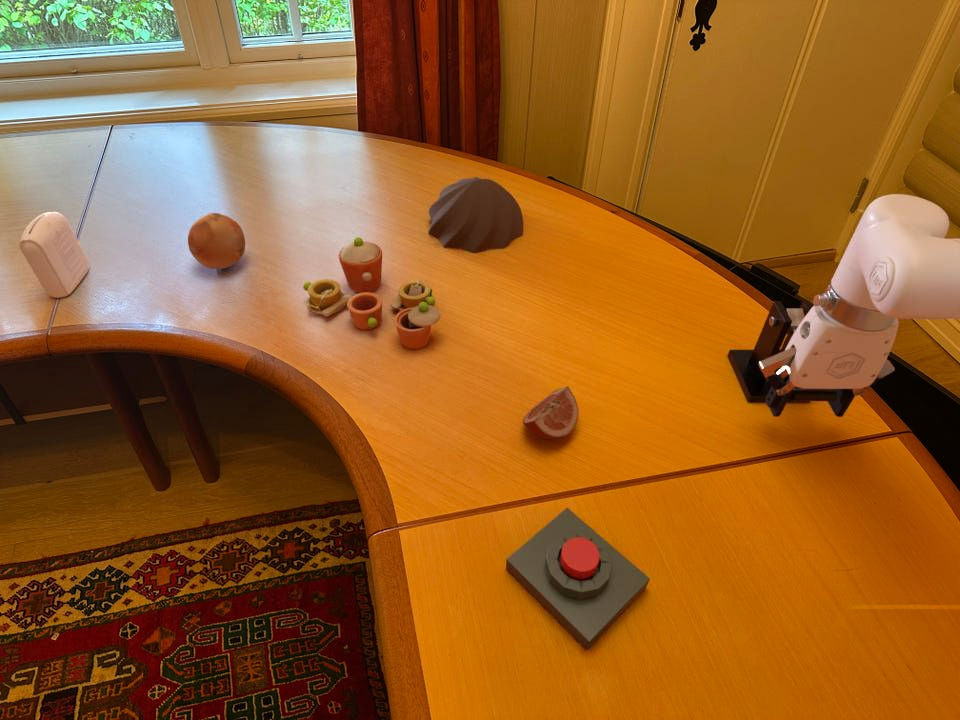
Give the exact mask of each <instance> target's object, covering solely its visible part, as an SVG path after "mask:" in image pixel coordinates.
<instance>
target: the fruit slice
mask: <svg viewBox="0 0 960 720" xmlns="http://www.w3.org/2000/svg"><path fill="white" fill-rule="evenodd" d="M578 419H579V406H578V403H577V399H576V397H575V395H574V393H573V392H572V389H571V388H570V387H569V385H567V386H564V387H561V388H558V389H555V390H553V391H552V392H551V393H549V395H547V396H546V397H545V398H543V399H542V400H541V401H540V402H538V403H537V404H536V405H535V406H533V407H532V408H531V409H530V410H529V411H528V412H527V413H526V414H525V415H524V417H523V419H522V424H523V425H524V427H525V428H526V429H527V430H528V431H529V432H530V433H532V434H533V435H535V436H536V437H538V438H541V439H548V440H550V439H551V440H552V439H559V438H563V437H565V436H567V435H569V434H570V433H571V432H572V431H573V430H574V428H575V427H576V424H577V422H578Z"/></svg>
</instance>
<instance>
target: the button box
mask: <svg viewBox="0 0 960 720" xmlns="http://www.w3.org/2000/svg"><path fill="white" fill-rule="evenodd" d="M576 537H581V538H585V539H588V540H590V541H591V542H592V543H594V544H595V546H596V547H597V549H598V551H599V555H600V559H599V563H598V567H597V570H596V572H595V573H594V575H592V576H591V577H590V578H587V579H575V578H572V577H570V576H569V575H567V574H566V573H565V571H564V570H563V569H562V566H561V563H560V557H561V552H562V548H563V545H564V544H565V543H566V542H567V541H568V540H570V539H572V538H576ZM505 570H506V571H507V572H508V573H509V574H510V575H511V576H512V577H513V578H514V579H515V580H516V581H517V582H518V583H519V584H520V585H521V586H522V587H523V588H524V589H525V590H526V591H527V593H529V594H530V595H531V596H532V597H533V598H534V599H535V600H536V601H537V602H538V603H539V604H540V605H541V606H542V607H543V608H544V609H545V610H546V611H547V612H548V613H549V614H550V615H551V616H552V617H553V618H554V619H555V620H556V621H557V622H558V623H559V624H560V625H561V627H563V629H565V630H566V631H567V632H568V633H569V635H571V636H572V637H573V638H574V639H575V641H576V642H577V643H579V645H580V646H582V647H583V648H584V650H586V651H588V650H589V649H590V648H591V647H592V646H593V645H594V644H595V643H596V642H597V640H599V638H600V637H602V636H603V634H604V633H605V632H606V631H607V630H608V629H609V628H610V627H611V626H612V625H613V624H614V623H615V622H616V621H617V620H618V619H619V618H620V617H621V616H622V614H623V613H624V612H625V611H626V610H627V609H628V608H629V607H630V606H631V605H632V604H633V603H634V602H635V601H636V600H637V599H638V598H639V597H640V595H642V593H643V592H645V590H646V589H647V587H648V586H649V585H648V584H649V582H650V580H651V578H650V577H649V576H648V575H646V574H645V573H644V572H643V571H642V570H640V569H639V567H637V566H636V565H635V564H634V563H632V561H630V560H629V559H628V558H626V556H624V554H622V553H621V552H620V551H618V550H617V549H616V548H615V546H612V544H610V543H609V542H608V541H607V540H606V539H605V538H603V537H602V536H601V535H600V534H598V533H597V532H596V531H595V530H594V529H593V528H592V527H590V526H589V525H588V524H587V523H586V522H585V521H584V520H583V519H581V518H580V517H579V516H578V515H577V514H575V513H574V512H573V511H572V510H571V509H570V508H569V507H566V508H565V509H564V510H562V511H561V512H560V513H559V514H558V515H556V516H555V517H554V518H552V519H551V520H550V522H548V523H547V524H546V525H544V527H542V528H541V529H540V530H539V531H538V532H536V533H535V534H534V535H533V536H532V537H531V538H530V539H528V540H527V541H526V542H524V544H523V545H521V546H520V547H519V548H518V549H517V550H516V551H514V552H513V553H511V555H510V556H508V557H507V558H506V559H505Z"/></svg>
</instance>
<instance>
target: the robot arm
mask: <svg viewBox="0 0 960 720" xmlns="http://www.w3.org/2000/svg"><path fill="white" fill-rule="evenodd" d="M949 228H950V219H949V215H948V214H947V213H946V211H945V210H944V209H943V208H942V207H940V206H939V205H938V204H936V203H934V202H932V201H930V200H927V199H925V198H922V197H919V196H915V195H909V194H901V193H890V194H886V195H882V196H880V197H878V198H875V199H874V200H873V201H872V202H870V203H869V204H868V206H867V207H866V209H865V210H864V212H863V214H862V215H861V218H860V220H859V222H858V225H857V226H856V228H855V231H854V232H853V234H852V237H851V238H850V241H849V242H848V245H847V246H846V249H845V251H844V253H843V255H842V257H841V260H840V261H839V263H838V264H837V265H838V266H837V268H836V270H835V271H834V274H833V276H832V278H831V280H830V282H829V284H828V285H827V287H826V289H825V291H824V292H823V293H821V294H815V295H814V296H813V299H812V303H813V305H812V306H813V307H812V308H811V310H810V311H809V312H808V313H807V315H806V316H805V317H804V319H803V320H802V322H801V323H800V325H799V326H798V328H797V329H796V331H795V332H794V334H793V336H792V338H791V339H790V341H789V343H788V345H787V347H786V349H785V351H783V352H781V353H778V354H776V355H774V356H771V357H769V358H767V359H765V360H762V361H760V362H759V367H760V369H761V371H762V373H763V374H764V376H765V378H766V379H767V381H768V383H769V384H770V385H771V388H770V390H769V392H768V394H767V397H766V402H765V404H766V406H767V408H769V410H770V412H771V414H772V416H773V417H774V418H777V417H781V415H782V413H783V411H784V409H785V407H786V405H787V403H788V402H787V401H788V399H789V395H788V392H789V391H791V390H792V389H793V388H795V387H799V388H809V389H835V390H836V391H837V399H836V400H835V401H827V403H828V405H829V406H830V409H831V410H832V412H833V414H834V416H835V417H837V418H842V417H844V415H845V413H847V410H848V409H849V407H850V406H851V404H852V402H853V401H854V399H855V397H859V396H861V395H863V394H864V392H865V390H866V389H867V388H869V387H872V386H874V385H876V384H877V383H878V382H880V379H883V378H885V377H886V376H888V375H890V374H891V373H894V372H895V370H896V369H895V367H894V365H893V364H892V362H891V361H890V360H889V359H888V357H889V355H890V353H891V350H892V348H893V345H894V343H895V340H896V337H897V333H898V329H899V326H900V325H899V324H900V321H899V319H901V320H952V319H953V320H960V238H946V236H947V233H948V231H949ZM783 366H784V367H783ZM781 367H782V368H781ZM779 368H781V369H780V370H778V371H777V372H775V370H776V369H779ZM788 375H789V378H790V379H789V380H788V381H786V382H785V383H784V381H783V379H784V378H785V377H786V376H788Z"/></svg>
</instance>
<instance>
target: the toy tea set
mask: <svg viewBox="0 0 960 720" xmlns="http://www.w3.org/2000/svg"><path fill="white" fill-rule="evenodd" d="M338 260H339V261H338V262H339V264H340V266H341V269H342V271H343V274H344V278H345V280H346V283H347V286H348V287H349V289H350V290H351V291H353V292H355V293H356V294H354V295H353V296H352V295H350V294H345V293H344V292H343V291H341V285H340V283H339V282H338V281H337V280H334V279H331V278H330V279H329V278H323V279H319V280H316V281H313V282H312V283H311V282H310V281H306V282H304V283H303V284H302V288H303V290H305V291H306V292H307V294H308V295H309V297H308V299H307V301H306V302H305V304H306V305H307V309H308V310H309V311H310V312H312V313H314V314H317V315H322V316H323V317H327V318H328V317H329V316H331V315H333V314H334V313H335V314H336V313H338V312H339V311H342V309H343V308H345V306H347V307H346V308H347V310H348V312H349V314H350V317H351V320H352V322H353V325H354V326H355V327H356V328H358V329H360V330H372V329H375V328H377V327H378V326H379V325H380V324H381V323H382V319H383V318H382V317H383V304H384V303H383V299H382V297H381V296H380V295H379V294H377V293H374V291H376V290H377V289H379V287H380V286H381V283H382V271H383V250H382V248H381V247H380V246H379V245H378V244H376V243H374V242H371V241H368V240H364V239H362V238H361V237H360V236H356V237H355V238H354V239H353V241H351V242H349V243H347V244H346V245H345V246H343V247H342V248H341V249H340V250H339V252H338ZM435 305H436V299H435V297H434V296H433V288H432V287H431V286H430V285H429V283H427V282H425V281H423V280H422V279H419V280H409V281H406V282H404V283H402V284H401V285H400V286H399V287H398V293H397V295H396V296H395V298H393V299H392V300H391V301H390V307H391V309H397V310H398V313H397V314H396V315H395V317H394V325H395V328H396V330H397V334H398V337H399V340H400V343H401V344H402V345H403V347H405V348H407V349H410V350H419V349H422V348H424V347H426V346H427V345H428V343H429V342H430V339H431V329H432V326H433V325H435V324H437V323H438V322H439V320H440V318H441V312H440V310H439V309H438V308H437V307H435Z"/></svg>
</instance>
